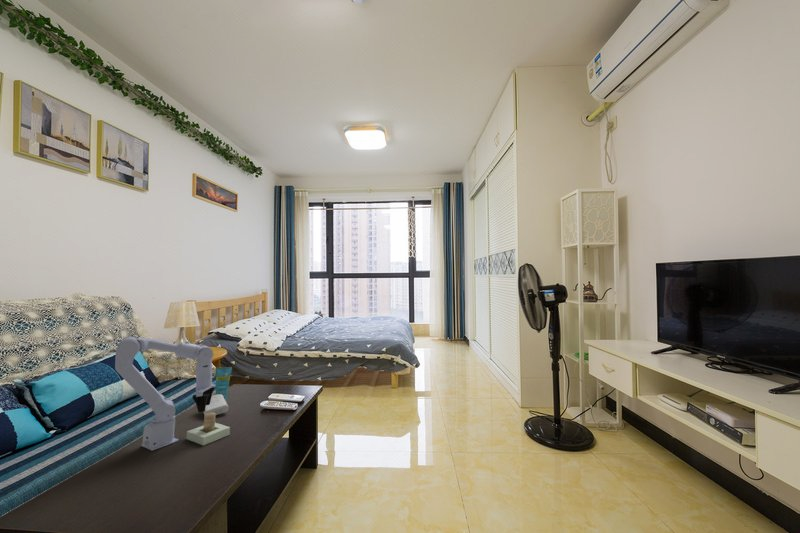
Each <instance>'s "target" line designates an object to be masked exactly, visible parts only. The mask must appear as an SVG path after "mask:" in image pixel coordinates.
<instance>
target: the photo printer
mask: <svg viewBox="0 0 800 533" xmlns="http://www.w3.org/2000/svg"><path fill="white" fill-rule="evenodd" d="M228 411H229V405H228V403H227V400H226V401H225V399H224V397H223V395H222V394H218V395H215V394H214V395H213V394H212V396H211V401H210V405H206V408H205V411H204V412H202V413H203V415H205V414H206V413H211V412H214V413H216V415H215V416H218V415H221V414H224V413H227V412H228Z"/></svg>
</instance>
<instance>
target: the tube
mask: <svg viewBox="0 0 800 533" xmlns="http://www.w3.org/2000/svg"><path fill="white" fill-rule="evenodd" d="M232 370H233V367H232V366H229V367H227V366H226V367H216V368H215V373H216V375H215V376H216V377H215V394H214V395H218V394H222V395H223V397H224V399H225V401H226V402H227V398H228V393H229V392H228V391H229V385H230V379H231V374H232Z"/></svg>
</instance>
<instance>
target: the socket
mask: <svg viewBox="0 0 800 533" xmlns="http://www.w3.org/2000/svg"><path fill="white" fill-rule="evenodd" d="M203 428H204V424H203V425H201V426H198V427H195V428H193V429H190V430H187V431H186V440H188V441H191V442H194V443H196V444H197V445H198V444H199V445H201V446H206V445H208V444H210V443H213V442H215V441H217V440H220V439H222V438H224V437H227V436H229V435H230V434H231V426H227V425H224V424H221V423H218V422H215V430H214V431H211V432H208V433H205V432H203Z"/></svg>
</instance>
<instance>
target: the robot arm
mask: <svg viewBox="0 0 800 533" xmlns="http://www.w3.org/2000/svg"><path fill="white" fill-rule="evenodd" d="M140 350H141V352H146V351H149V350H157V351H164V352H169V353H174V354H175V356H176V357H180V358H185V359H192V360H195V359H196V365H195V368H196V372H195V379H196V381H195V383H196V384H195V386H196V387H195V391H196V394H193V395H192V399H193V401H194V403H195V406H196V408H197V412H198V413H203V412H204V411H205V408H206V405H210V401H211V396H213V392H214V391H215V389H216V383H215V384H213V363H212V362H213V358H214V355H215V354H214V351H213V349H212V348H210V346H208V345H205V344H201V343H199V344H194V343H191V342H190V341H188V340H185V342H184V341H181V342H179V343H172V342H167V341H164V340H159V339H155V338H150V337H142V336H141V337H140V336H139V337H136V336H132V335H131V336H126V337H123V338H122V339H121V340H120V341H119V343H118V346H117V347H116V351H115V356H114V358H115V361H114V362H115V363H114V365H115V366H114V370H115V371H116V372H117V374H119V375H120V376H121V378H122V379H124V381H125V382H126V383H127V384H128V385H129V386H130V387H131V388H132V389H133V390H134V391H135V392H136V393H137V394H138V395H139V397H141V398H142V399H143V400H144V401H145V402H146V403H147V404H148V406H149V407H150V409H151V410H152V411H153V412H154V414H155V416H154V417H153V418H152V421H151V422H150V423H148V424H146V425H144V427H143V431H142V433H143V434H142V444H141V445H140V446H141V447H142V448H145V449H147V450H150V451H155V450H158V449H161V448H163V447H166V446H169V445H171V444H175V443H177V442H180V440H179V438H177V437H175V429H176V428H175V426H176V415H175V414H176V412H177V410H176V407H175V405H174V401H173V400H172V399H171V398H167V397H165V396H164V395H163V394H162V393H161V392H160V391H158V390H157V389H156V388H155V386H154V385H153V384H151V382H150V381H149V380H148V379H147V378H146V377H145V376H144V374H142V373H141V372H140V371H139V369H138V368H136V366H135V365H134V359H135V357H136V356H137V354H138V353H139V352H140Z"/></svg>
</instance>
